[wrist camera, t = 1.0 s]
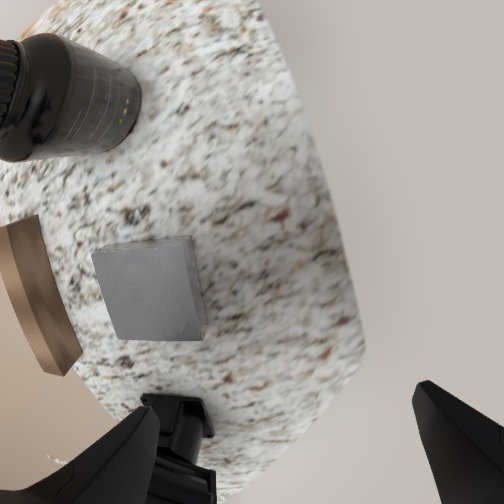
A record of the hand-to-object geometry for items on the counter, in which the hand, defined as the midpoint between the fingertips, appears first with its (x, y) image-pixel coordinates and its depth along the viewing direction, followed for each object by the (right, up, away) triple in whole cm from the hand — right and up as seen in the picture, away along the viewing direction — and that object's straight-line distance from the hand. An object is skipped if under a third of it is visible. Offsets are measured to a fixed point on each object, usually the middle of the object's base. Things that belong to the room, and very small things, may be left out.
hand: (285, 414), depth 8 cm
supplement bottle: (-12, +15, +8) cm, 21 cm away
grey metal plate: (-8, +3, +13) cm, 15 cm away
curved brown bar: (-20, +2, +13) cm, 24 cm away
